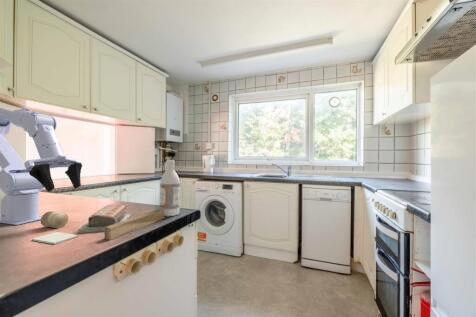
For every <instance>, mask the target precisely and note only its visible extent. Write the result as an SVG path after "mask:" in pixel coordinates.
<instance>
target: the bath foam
mask: <svg viewBox="0 0 476 317" xmlns="http://www.w3.org/2000/svg"><path fill="white" fill-rule="evenodd" d="M165 166H166V168H165V171H164V173H163V174H162V176H161V178H160V183H159V209H163V210H164V217H174V216H177V215H179V214H180V199H181V196H180V194H181V190H180V188H181V186H180V185H181V183H180V178H179V175H178V174H177V172H176V170H175V160H170V159H169V160H167V159H166V164H165Z"/></svg>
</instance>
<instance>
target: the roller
mask: <svg viewBox="0 0 476 317" xmlns="http://www.w3.org/2000/svg"><path fill="white" fill-rule="evenodd" d="M40 217H41V220H40V225H42V226H43V227H46V228H54V229H62V228H63V227H65V226H66V225H67V224H68V222H69V216H68V214H67V213H65V212H58V211H47V212H44V213H43V214H42V215H41V216H40Z"/></svg>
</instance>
